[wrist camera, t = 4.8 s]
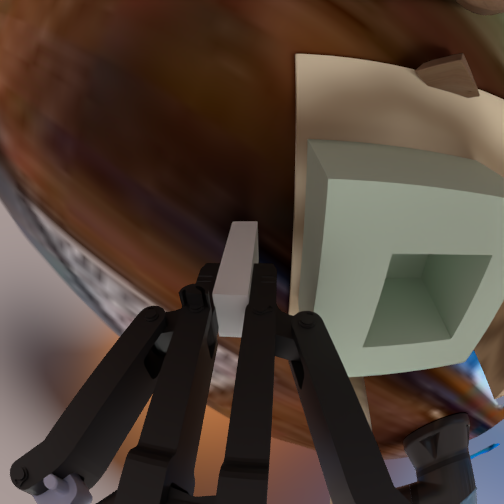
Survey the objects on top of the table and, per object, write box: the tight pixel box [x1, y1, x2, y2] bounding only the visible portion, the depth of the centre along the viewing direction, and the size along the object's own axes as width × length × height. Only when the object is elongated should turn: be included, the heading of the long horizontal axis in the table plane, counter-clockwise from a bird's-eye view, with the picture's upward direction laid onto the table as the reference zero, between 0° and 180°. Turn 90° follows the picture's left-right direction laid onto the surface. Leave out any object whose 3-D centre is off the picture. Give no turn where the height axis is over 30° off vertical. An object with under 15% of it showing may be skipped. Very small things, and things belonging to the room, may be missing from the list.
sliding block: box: [298, 139, 504, 377], centre depth 15 cm, size 12×12×7 cm
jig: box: [288, 54, 504, 399], centre depth 15 cm, size 22×21×10 cm
